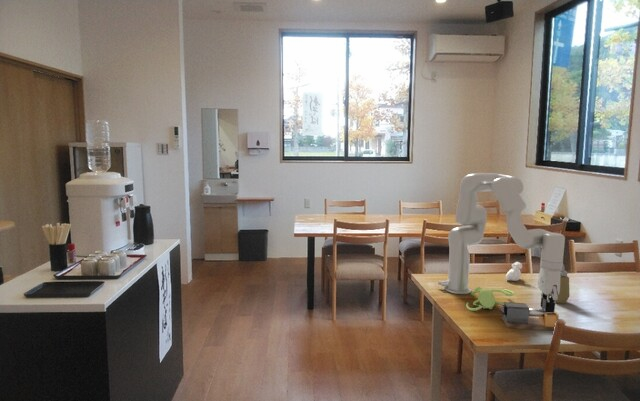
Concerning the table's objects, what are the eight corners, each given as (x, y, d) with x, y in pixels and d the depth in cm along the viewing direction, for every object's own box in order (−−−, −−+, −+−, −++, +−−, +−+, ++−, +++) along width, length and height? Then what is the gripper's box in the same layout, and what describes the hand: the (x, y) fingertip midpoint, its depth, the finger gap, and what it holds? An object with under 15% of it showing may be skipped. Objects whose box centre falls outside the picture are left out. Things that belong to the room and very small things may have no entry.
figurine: (514, 299, 197) (515, 287, 197) (511, 319, 174) (512, 306, 173) (472, 292, 206) (473, 281, 205) (464, 310, 182) (465, 298, 182)
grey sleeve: (506, 322, 167) (507, 306, 166) (502, 317, 172) (504, 302, 171) (528, 324, 166) (529, 308, 165) (523, 319, 171) (524, 303, 170)
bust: (508, 286, 222) (523, 273, 215) (498, 275, 225) (512, 261, 219) (518, 281, 230) (532, 268, 224) (507, 271, 233) (521, 257, 227)
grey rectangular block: (521, 317, 166) (522, 299, 165) (518, 313, 170) (519, 295, 169) (554, 319, 165) (555, 301, 164) (549, 315, 168) (551, 297, 168)
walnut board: (507, 327, 165) (508, 324, 165) (501, 318, 174) (501, 315, 174) (559, 331, 162) (560, 328, 162) (550, 321, 171) (550, 319, 171)
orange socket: (545, 326, 164) (546, 314, 163) (538, 319, 171) (539, 307, 170) (557, 327, 163) (558, 314, 163) (550, 320, 170) (551, 308, 169)
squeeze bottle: (566, 299, 197) (570, 262, 195) (570, 305, 189) (574, 266, 187) (547, 297, 199) (550, 260, 197) (550, 303, 192) (554, 265, 190)
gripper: (533, 258, 173) (529, 301, 175) (549, 270, 156) (545, 317, 159) (553, 259, 172) (549, 302, 174) (571, 271, 155) (566, 318, 158)
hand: (547, 309), depth 166 cm, fingers closed on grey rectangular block, 4 cm apart
